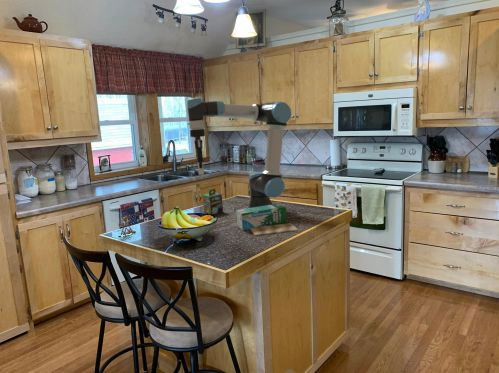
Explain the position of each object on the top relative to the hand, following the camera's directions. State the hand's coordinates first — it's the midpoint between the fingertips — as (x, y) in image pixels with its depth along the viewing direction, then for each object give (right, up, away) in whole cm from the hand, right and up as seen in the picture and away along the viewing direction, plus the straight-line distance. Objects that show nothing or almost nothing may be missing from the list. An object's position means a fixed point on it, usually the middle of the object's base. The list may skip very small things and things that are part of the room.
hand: (201, 174), depth 205 cm
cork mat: (+38, -29, -6) cm, 48 cm away
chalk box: (+3, -23, +37) cm, 44 cm away
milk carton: (+20, -24, -1) cm, 31 cm away
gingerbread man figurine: (-40, -32, +3) cm, 51 cm away
